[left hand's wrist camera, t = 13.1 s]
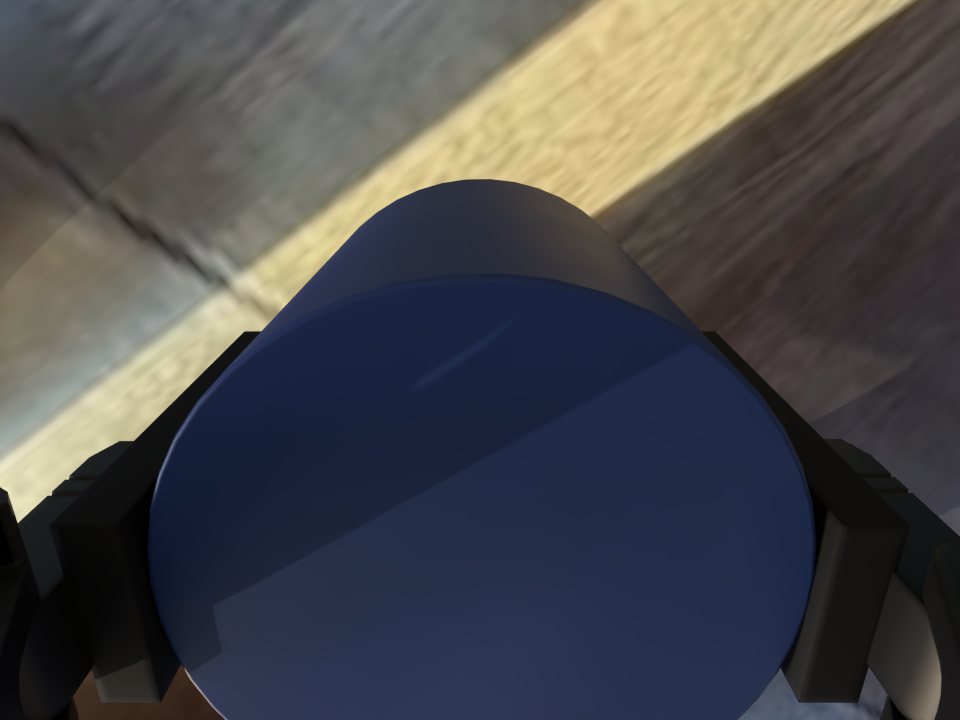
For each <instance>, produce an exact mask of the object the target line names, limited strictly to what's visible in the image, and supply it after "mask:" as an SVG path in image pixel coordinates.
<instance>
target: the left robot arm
mask: <svg viewBox="0 0 960 720" xmlns="http://www.w3.org/2000/svg"><path fill="white" fill-rule="evenodd" d="M701 332H702V333H703V334H704V335H705V336H706V337H707V338H708V339H709V340H710V341H711V342H712V343H713V344H714V345H715V346H716V347H717V349H718V350H719V351H720V352H721V353H722V354H723V355H724V356H725V357H726V358H727V359H728V360H729V361H730V362H731V363H732V364H733V365H734V366H735V367H736V368H737V370H738V371H739V372H740V373H741V374H742V375H743V376H744V377H745V378H746V379H747V380H748V381H749V382H750V383H751V384H752V385H753V386H754V387H755V388H756V389H757V391H758V392H759V393H760V394H761V395H762V396H763V398H764V399H765V401H766V402H767V404H768V405H769V406H770V408H771V409H772V411H773V412H774V414H775V415H776V417H777V418H778V419H779V421H780V422H781V424H782V425H783V427H784V428H785V430H786V432H787V434H788V436H789V438H790V441H791V443H792V445H793V447H794V449H795V451H796V453H797V455H798V457H799V460H800V462H801V464H802V467H803V470H804V474H805V477H806V481H807V484H808V488H809V491H810V495H811V499H812V504H813V513H814V522H815V531H816V557H815V575H814V580H813V585H812V589H811V594H810V598H809V602H808V607H807V611H806V614H805V617H804V619H803V622H802V624H801V627H800V629H799V632H798V635H797V637H796V640H795V642H794V644H793V646H792V648H791V650H790V651H789V653H788V655H787V657H786V658H785V660H784V662H783V664H782V665H781V667H780V668H781V670H782V672H783V673H784V675H785V677H786V679H787V681H788V683H789V685H790V687H791V689H792V690H793V692H794V694H795V696H796V698H797V700H798V702H810V703H858V701H859V697H860V694H861V691H862V687H863V684H864V680H865V677H866V674H867V670H868V667H870V669H871V670H872V672H873V673H874V675H875V676H876V678H877V679H878V681H879V682H880V684H881V685H882V686H883V688H884V689H885V691H886V692H887V694H888V696H887V699H886V702H885V705H884V708H883V712H882V715H881V718H880V720H960V536H959V535H958V534H956V533H955V532H954V531H953V530H952V529H951V528H950V527H949V526H948V525H947V524H946V523H944V522H943V521H942V520H941V519H940V518H939V517H938V516H937V515H936V514H935V513H933V512H932V511H931V510H930V509H929V508H928V507H927V506H926V505H925V504H924V503H923V502H921V501H920V500H919V499H918V498H917V497H916V496H915V495H914V494H913V493H908V489H907V488H906V487H905V486H904V485H903V484H902V483H901V482H899V481H898V480H897V479H896V478H895V477H891V473H890V472H889V471H887V470H886V469H885V468H884V467H883V466H882V465H881V464H880V463H879V462H878V461H876V460H875V459H874V458H873V457H872V456H871V455H870V454H868V453H866V452H864V451H862V450H860V449H858V448H856V447H855V446H853V445H851V444H849V443H847V442H845V441H843V440H841V439H823V438H822V437H821V436H820V435H819V434H818V433H817V432H816V431H815V430H814V429H813V428H812V427H811V426H810V425H809V424H808V423H807V422H806V421H805V420H804V419H803V418H802V417H801V416H800V415H799V414H798V413H797V412H796V411H795V410H794V409H793V408H792V407H791V406H790V405H789V404H788V403H787V402H786V401H785V400H784V399H783V398H782V397H781V396H779V395H778V394H777V393H776V392H775V391H774V390H773V389H772V388H771V387H770V386H769V385H768V384H767V383H766V382H765V381H764V380H763V379H762V378H761V377H760V376H759V375H758V374H757V373H756V372H755V371H754V370H753V369H752V368H751V367H750V366H749V365H748V364H747V363H746V362H745V361H744V360H743V359H742V358H741V357H740V356H739V355H738V354H737V353H736V352H735V351H734V350H733V349H732V348H731V347H730V346H729V345H728V344H727V343H726V342H725V341H724V340H723V339H722V338H721V337H720V336H719V335H718V334H717V333H716V332H715V331H701ZM260 333H261V332H244V333H243V334H242V335H241V336H240V337H239V338H238V339H237V340H236V341H235V342H234V343H233V344H231V345H230V346H229V347H228V348H227V349H226V350H225V351H224V352H223V353H222V354H221V355H220V356H219V357H218V358H217V359H216V360H215V361H214V362H213V363H212V364H211V365H210V366H209V367H208V368H207V369H206V370H205V371H204V372H203V373H202V374H201V375H200V376H199V377H198V378H197V379H196V380H195V381H194V382H193V383H192V384H191V385H190V386H189V387H188V388H187V389H186V390H185V391H184V392H183V393H182V394H181V395H180V396H179V397H178V398H177V399H176V400H175V401H174V402H173V403H172V404H171V405H170V406H169V407H168V408H167V409H166V410H165V411H164V412H163V413H162V414H161V415H160V416H159V417H158V418H157V419H156V420H155V421H154V422H153V423H152V424H151V425H150V426H149V427H148V428H147V429H146V430H145V431H144V432H143V433H142V434H141V435H140V436H139V437H138V438H137V439H136V440H135V441H119V442H117V443H115V444H114V445H112V446H110V447H108V448H106V449H104V450H102V451H100V452H99V453H97V454H95V455H93V456H91V457H89V458H88V459H87V460H86V461H85V462H84V463H83V464H82V465H81V466H80V467H79V468H77V469H76V470H75V471H74V472H73V473H72V474H71V475H70V476H69V480H64V481H63V482H62V483H61V484H60V485H59V486H58V487H57V488H56V489H55V490H54V491H52V496H47V497H46V498H45V499H44V500H43V501H42V502H40V503H39V504H38V505H37V506H36V507H35V508H34V509H33V510H32V511H31V512H30V513H29V514H27V515H26V516H25V517H24V518H23V519H22V520H21V521H20V522H19V523H17V520H16V517H15V514H14V511H13V508H12V504H11V501H10V498H9V495H8V492H7V491H5V490H4V489H2V488H0V720H79V719H78V712H77V708H76V705H75V702H74V699H73V695H74V694H75V692H76V691H77V689H78V688H79V686H80V685H81V684H82V682H83V681H84V679H85V678H86V676H87V675H88V673H89V672H90V670H91V669H92V672H93V675H94V679H95V682H96V686H97V689H98V692H99V696H100V699H101V702H102V703H161V701H162V699H163V697H164V695H165V693H166V692H167V690H168V688H169V686H170V684H171V682H172V680H173V678H174V676H175V674H176V673H177V671H178V669H179V667H180V665H181V663H180V661H179V660H178V658H177V657H176V655H175V653H174V652H173V650H172V648H171V645H170V643H169V640H168V638H167V636H166V633H165V631H164V629H163V626H162V624H161V622H160V619H159V616H158V612H157V608H156V605H155V601H154V597H153V593H152V589H151V585H150V575H149V564H148V553H147V543H148V530H149V516H150V507H151V503H152V499H153V495H154V491H155V487H156V483H157V479H158V475H159V471H160V469H161V467H162V465H163V462H164V460H165V458H166V455H167V453H168V451H169V448H170V446H171V444H172V441H173V439H174V437H175V435H176V434H177V432H178V430H179V429H180V427H181V426H182V424H183V423H184V421H185V420H186V418H187V416H188V415H189V413H190V412H191V410H192V409H193V407H194V406H195V404H196V403H197V401H198V400H199V399H200V398H201V397H202V396H203V394H204V393H205V392H206V391H207V390H208V389H209V388H210V387H211V386H212V384H213V383H214V382H215V381H216V380H217V379H218V378H219V377H220V375H221V374H222V373H223V372H224V371H225V370H226V369H227V368H228V367H229V366H230V365H231V363H232V362H233V361H234V360H235V359H236V358H237V357H238V356H239V355H240V354H241V353H242V352H243V351H244V350H245V349H246V347H247V346H248V345H249V344H250V343H251V342H252V341H253V340H254V339H255V338H256V337H257V336H258V335H259V334H260Z"/></svg>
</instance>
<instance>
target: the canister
mask: <svg viewBox="0 0 960 720" xmlns="http://www.w3.org/2000/svg"><path fill="white" fill-rule="evenodd" d="M147 553H148V564H149V575H150V585H151V589H152V593H153V597H154V601H155V605H156V608H157V612H158V616H159V619H160V622H161V624H162V626H163V629H164V631H165V633H166V636H167V638H168V640H169V643H170V645H171V648H172V650H173V652H174V653H175V655H176V657H177V658H178V660H179V661H180V663H181V665H182V666H183V668H184V670H185V671H186V673H187V675H188V676H189V678H190V680H191V681H192V682H193V683H194V685H195V686H196V687H197V688H198V690H199V691H200V692H201V693H202V695H203V696H204V697H205V698H206V700H207V701H208V702H209V703H210V705H211V706H212V707H213V708H214V709H215V710H216V711H217V712H218V713H219V714H220V715H221V716H222V717H223V718H224V719H225V720H738V719H739V718H740V717H741V716H742V715H743V714H744V713H745V712H746V711H747V710H748V709H749V708H750V707H751V705H752V704H753V703H754V702H755V701H756V700H757V699H758V698H759V696H760V695H761V694H762V692H763V691H764V690H765V688H766V687H767V686H768V684H769V683H770V682H771V681H772V679H773V678H774V677H775V675H776V674H777V672H778V671H779V669H780V667H781V665H782V664H783V662H784V660H785V658H786V657H787V655H788V653H789V651H790V650H791V648H792V646H793V644H794V642H795V640H796V637H797V635H798V632H799V629H800V627H801V624H802V622H803V619H804V617H805V614H806V611H807V607H808V602H809V598H810V594H811V589H812V585H813V580H814V575H815V557H816V531H815V522H814V513H813V504H812V499H811V495H810V491H809V488H808V484H807V481H806V477H805V474H804V470H803V467H802V464H801V462H800V460H799V457H798V455H797V453H796V451H795V449H794V447H793V445H792V443H791V441H790V438H789V436H788V434H787V432H786V430H785V428H784V427H783V425H782V424H781V422H780V421H779V419H778V418H777V417H776V415H775V414H774V412H773V411H772V409H771V408H770V406H769V405H768V404H767V402H766V401H765V399H764V398H763V396H762V395H761V394H760V393H759V392H758V391H757V389H756V388H755V387H754V386H753V385H752V384H751V383H750V382H749V381H748V380H747V379H746V378H745V377H744V376H743V375H742V374H741V373H740V372H739V371H738V370H737V368H736V367H735V366H734V365H733V364H732V363H731V362H730V361H729V360H728V359H727V358H726V357H725V356H724V355H723V354H722V353H721V352H720V351H719V350H718V349H717V347H716V346H715V345H714V344H713V343H712V342H711V341H710V340H709V339H708V338H707V337H706V336H705V335H704V334H703V333H702V332H701V331H700V330H699V329H698V328H697V326H696V325H695V324H694V323H693V322H692V321H691V320H690V319H689V318H688V317H687V316H686V315H685V314H684V313H683V312H682V311H681V310H680V309H679V308H678V307H677V305H676V304H675V303H674V302H673V301H672V300H671V299H670V298H669V297H668V296H667V295H666V294H665V293H664V292H663V291H662V290H661V289H660V288H659V287H658V286H657V284H656V283H655V282H654V281H653V280H652V279H651V278H650V277H649V276H648V275H647V274H646V273H645V272H644V271H643V270H642V269H641V268H640V267H639V266H638V265H637V263H636V262H635V261H634V260H633V259H632V258H631V257H630V256H629V255H628V254H627V253H626V252H625V251H624V250H623V249H622V248H621V247H620V246H619V245H618V244H617V242H616V241H615V240H614V239H613V238H612V237H611V236H610V235H609V234H608V233H607V232H606V231H605V230H604V229H603V228H602V227H601V226H600V225H599V224H598V223H597V222H596V221H595V220H593V219H592V218H591V217H589V216H588V215H587V214H586V213H584V212H583V211H582V210H581V209H579V208H577V207H576V206H574V205H572V204H570V203H569V202H567V201H565V200H564V199H562V198H560V197H558V196H555V195H553V194H551V193H548V192H546V191H543V190H541V189H538V188H535V187H531V186H527V185H523V184H520V183H516V182H509V181H501V180H492V179H475V180H460V181H454V182H447V183H441V184H438V185H434V186H431V187H428V188H424V189H421V190H418V191H416V192H413V193H411V194H409V195H407V196H405V197H402V198H400V199H398V200H396V201H394V202H393V203H391V204H390V205H388V206H386V207H385V208H383V209H382V210H380V211H378V212H377V213H376V214H375V215H373V216H372V217H371V218H370V219H369V220H367V221H366V222H365V223H364V224H363V225H361V226H360V227H359V228H358V229H357V230H356V231H355V232H354V234H353V235H352V236H351V237H350V238H349V239H348V240H347V241H346V242H345V243H344V244H343V245H342V246H341V247H340V248H339V250H338V251H337V252H336V253H335V254H334V255H333V256H332V257H331V258H330V259H329V260H328V261H327V262H326V263H325V264H324V265H323V267H322V268H321V269H320V270H319V271H318V272H317V273H316V274H315V275H314V276H313V277H312V278H311V279H310V280H309V281H308V283H307V284H306V285H305V286H304V287H303V288H302V289H301V290H300V291H299V292H298V293H297V294H296V295H295V296H294V297H293V299H292V300H291V301H290V302H289V303H288V304H287V305H286V306H285V307H284V308H283V309H282V310H281V311H280V312H279V313H278V314H277V316H276V317H275V318H274V319H273V320H272V321H271V322H270V323H269V324H268V325H267V326H266V327H265V328H264V329H263V330H262V332H261V333H260V334H259V335H258V336H257V337H256V338H255V339H254V340H253V341H252V342H251V343H250V344H249V345H248V346H247V347H246V349H245V350H244V351H243V352H242V353H241V354H240V355H239V356H238V357H237V358H236V359H235V360H234V361H233V362H232V363H231V365H230V366H229V367H228V368H227V369H226V370H225V371H224V372H223V373H222V374H221V375H220V377H219V378H218V379H217V380H216V381H215V382H214V383H213V384H212V386H211V387H210V388H209V389H208V390H207V391H206V392H205V393H204V394H203V396H202V397H201V398H200V399H199V400H198V401H197V403H196V404H195V406H194V407H193V409H192V410H191V412H190V413H189V415H188V416H187V418H186V420H185V421H184V423H183V424H182V426H181V427H180V429H179V430H178V432H177V434H176V435H175V437H174V439H173V441H172V444H171V446H170V448H169V451H168V453H167V455H166V458H165V460H164V462H163V465H162V467H161V469H160V471H159V475H158V479H157V483H156V487H155V491H154V495H153V499H152V503H151V507H150V516H149V530H148V543H147Z"/></svg>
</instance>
